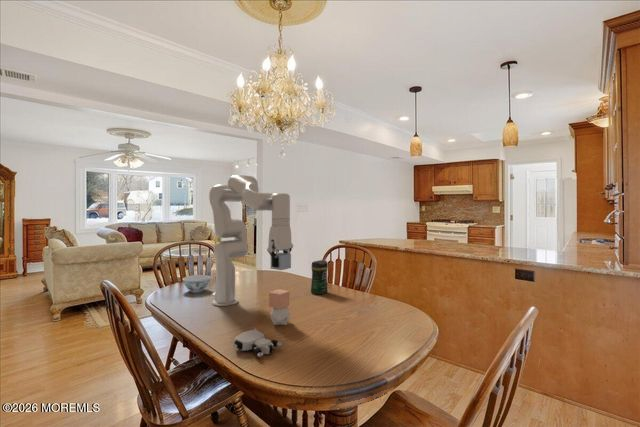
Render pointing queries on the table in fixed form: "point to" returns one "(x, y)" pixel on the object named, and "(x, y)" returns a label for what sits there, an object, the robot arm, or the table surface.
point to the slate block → (283, 261)
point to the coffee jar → (319, 277)
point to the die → (280, 316)
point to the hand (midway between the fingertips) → (280, 265)
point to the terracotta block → (278, 299)
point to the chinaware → (196, 282)
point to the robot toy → (255, 342)
